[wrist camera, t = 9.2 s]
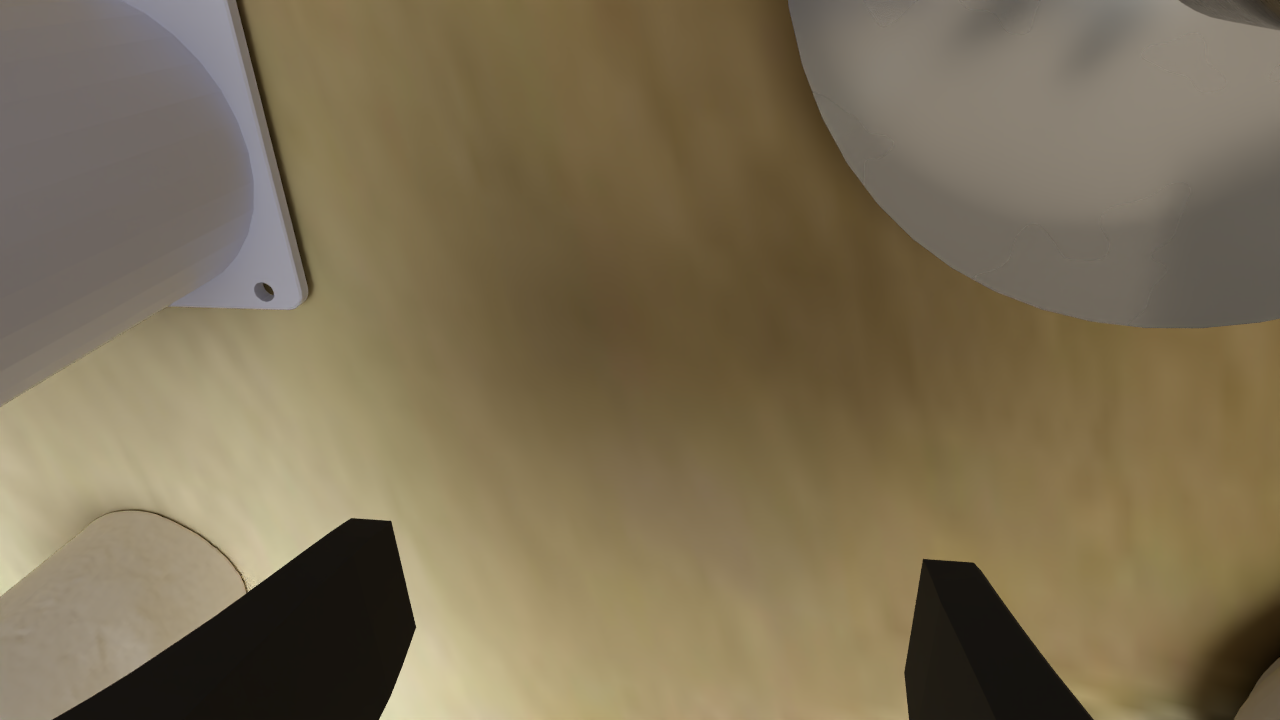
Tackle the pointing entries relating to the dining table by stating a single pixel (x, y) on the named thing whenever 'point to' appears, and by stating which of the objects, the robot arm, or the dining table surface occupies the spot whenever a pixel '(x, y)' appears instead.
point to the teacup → (1263, 697)
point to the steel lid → (1068, 145)
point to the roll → (105, 610)
